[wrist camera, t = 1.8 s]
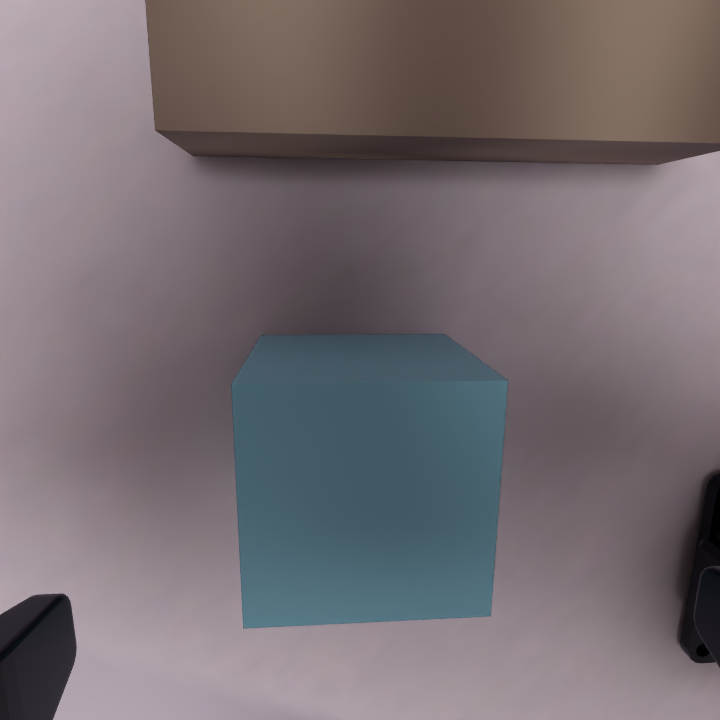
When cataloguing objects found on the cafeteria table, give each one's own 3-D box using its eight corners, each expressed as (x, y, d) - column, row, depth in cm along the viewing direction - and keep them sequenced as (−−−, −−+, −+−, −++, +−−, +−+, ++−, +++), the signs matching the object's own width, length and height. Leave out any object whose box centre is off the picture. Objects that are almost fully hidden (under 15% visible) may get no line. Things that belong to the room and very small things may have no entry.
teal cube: (444, 333, 14) (508, 380, 10) (437, 498, 15) (490, 616, 11) (261, 334, 14) (231, 384, 9) (267, 503, 15) (243, 628, 10)
